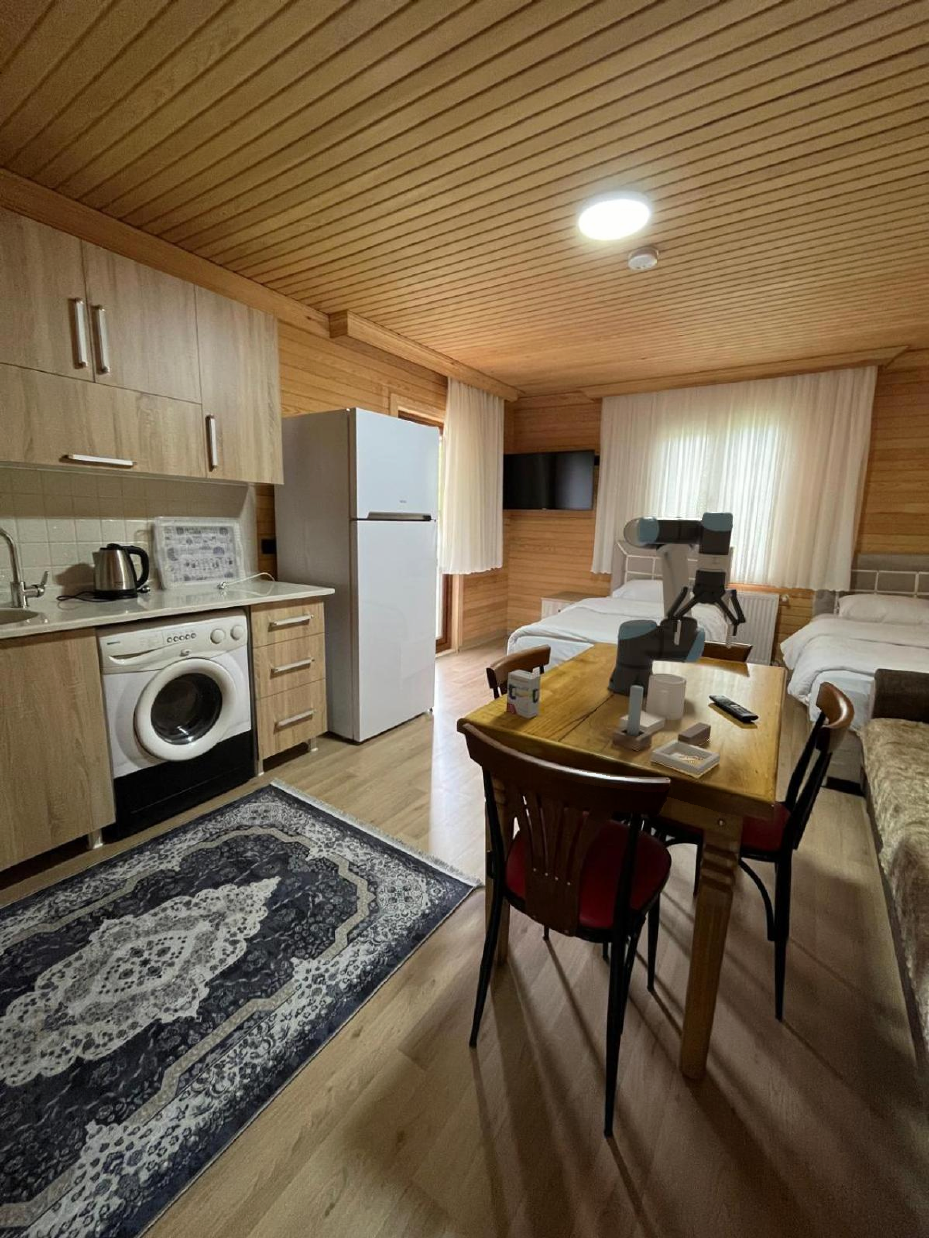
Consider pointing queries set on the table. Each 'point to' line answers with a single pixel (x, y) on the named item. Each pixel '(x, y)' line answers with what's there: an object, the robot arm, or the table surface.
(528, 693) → the ink box
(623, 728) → the socket block
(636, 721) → the dowel
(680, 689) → the mug
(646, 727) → the white flat block
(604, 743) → the table surface
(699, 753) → the tray
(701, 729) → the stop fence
